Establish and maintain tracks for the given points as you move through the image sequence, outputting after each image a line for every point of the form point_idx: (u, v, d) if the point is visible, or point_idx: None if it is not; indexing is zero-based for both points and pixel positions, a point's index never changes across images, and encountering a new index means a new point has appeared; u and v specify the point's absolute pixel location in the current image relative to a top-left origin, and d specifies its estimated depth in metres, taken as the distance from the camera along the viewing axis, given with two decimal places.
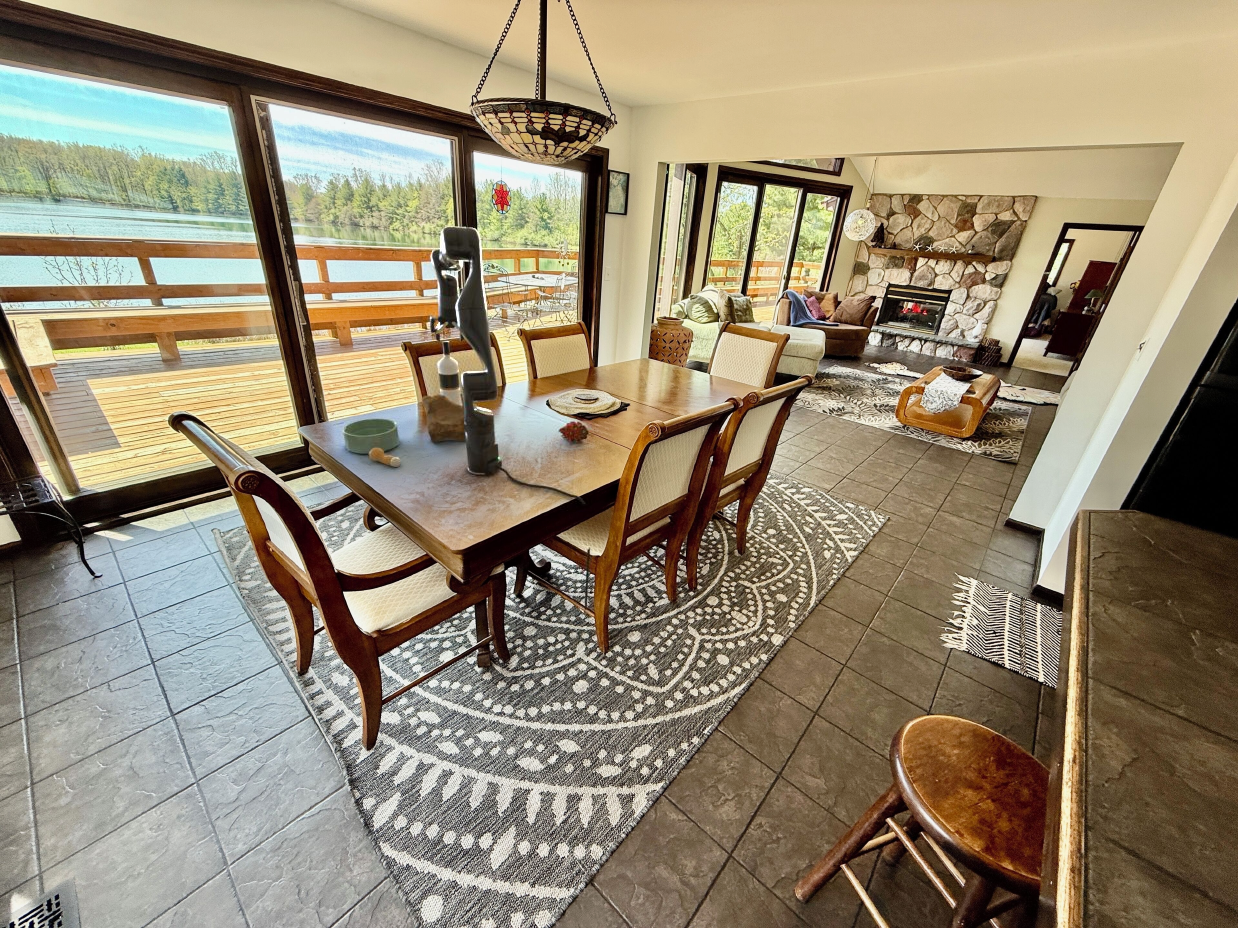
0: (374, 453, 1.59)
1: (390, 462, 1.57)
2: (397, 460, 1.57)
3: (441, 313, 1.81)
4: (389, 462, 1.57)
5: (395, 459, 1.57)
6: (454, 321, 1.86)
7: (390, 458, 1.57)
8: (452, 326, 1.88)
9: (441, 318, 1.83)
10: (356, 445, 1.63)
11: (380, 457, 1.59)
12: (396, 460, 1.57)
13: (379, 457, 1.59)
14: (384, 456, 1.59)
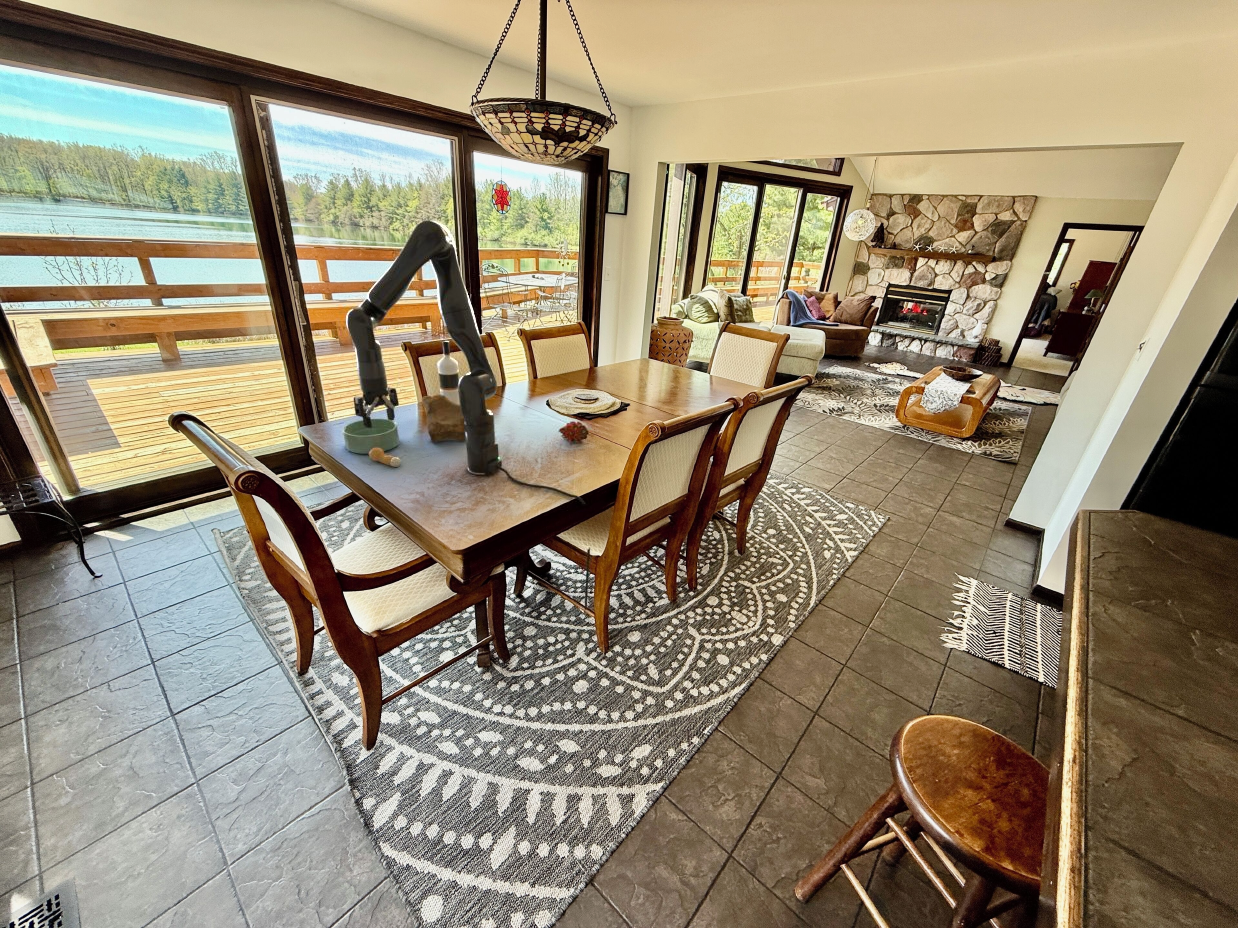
0: (374, 453, 1.59)
1: (390, 462, 1.57)
2: (397, 460, 1.57)
3: (370, 387, 1.46)
4: (389, 462, 1.57)
5: (395, 459, 1.57)
6: (383, 395, 1.51)
7: (390, 458, 1.57)
8: (381, 402, 1.52)
9: (369, 395, 1.47)
10: (356, 445, 1.63)
11: (380, 457, 1.59)
12: (396, 460, 1.57)
13: (379, 457, 1.59)
14: (384, 456, 1.59)
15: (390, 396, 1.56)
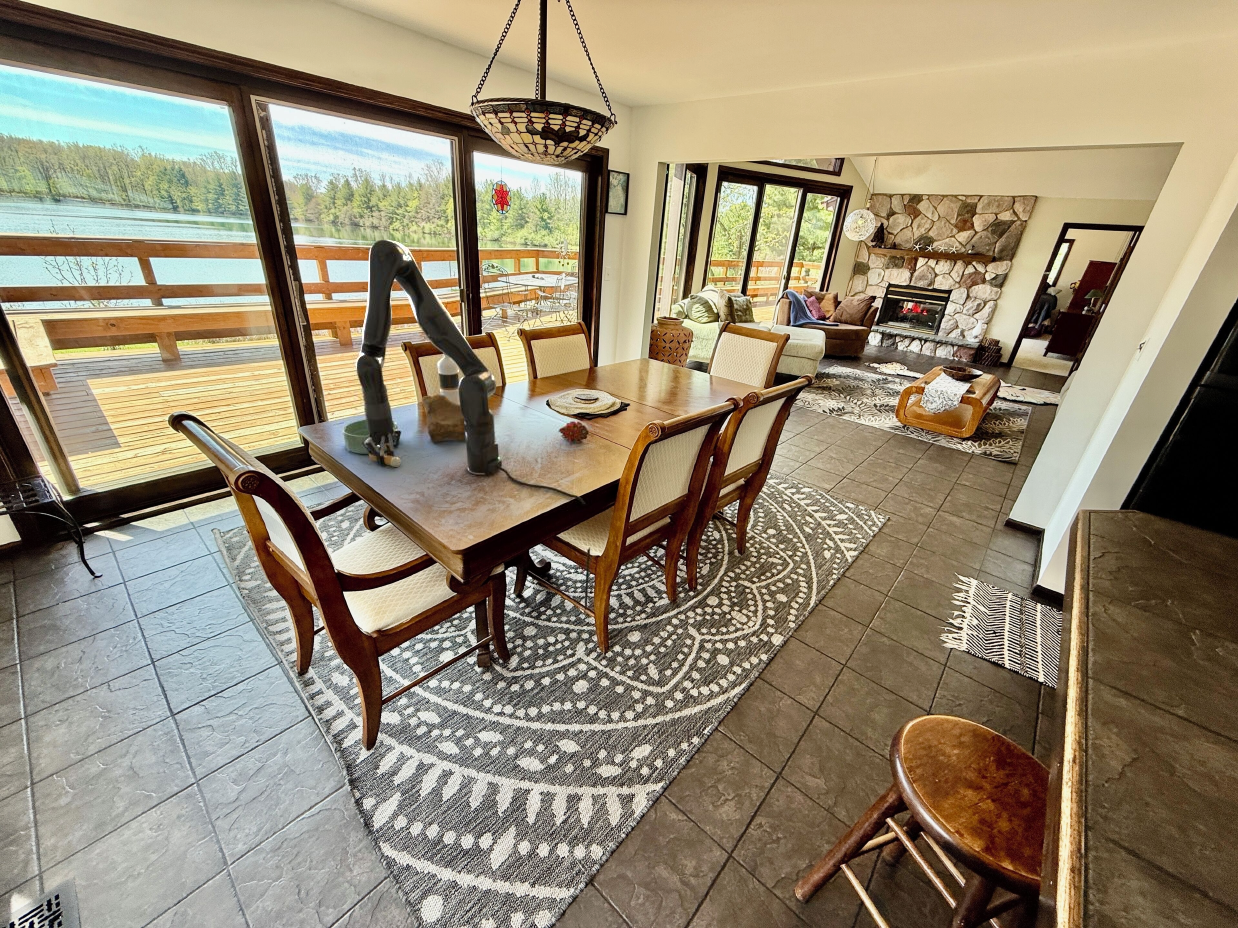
0: None
1: (390, 462, 1.57)
2: (397, 460, 1.57)
3: (377, 427, 1.51)
4: (389, 462, 1.57)
5: (395, 459, 1.57)
6: (389, 434, 1.57)
7: (390, 458, 1.57)
8: (385, 440, 1.56)
9: (375, 434, 1.53)
10: (356, 445, 1.63)
11: None
12: (396, 460, 1.57)
13: None
14: (384, 456, 1.59)
15: (393, 437, 1.61)
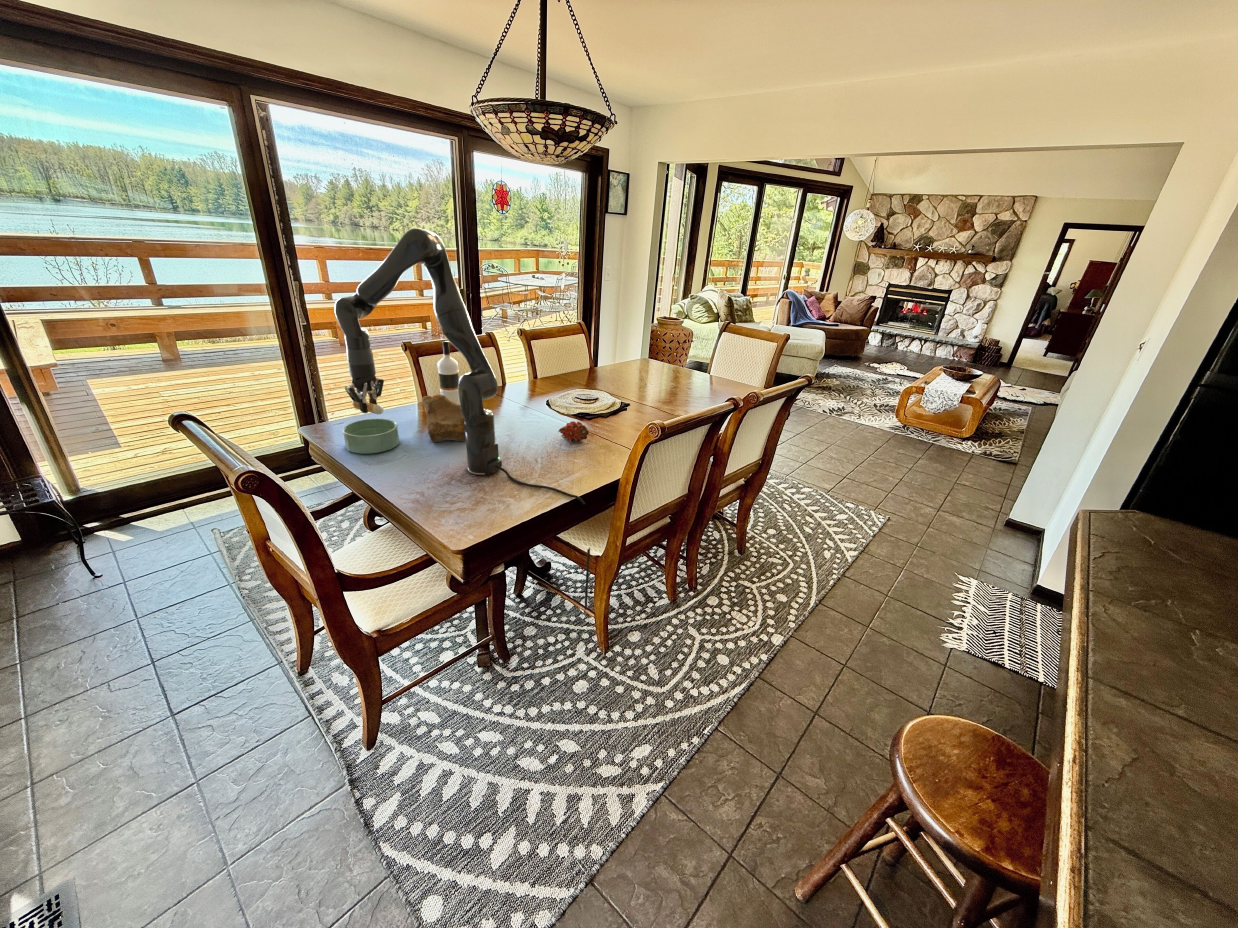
0: None
1: (372, 409, 1.60)
2: (379, 407, 1.60)
3: (359, 373, 1.54)
4: (371, 409, 1.60)
5: (377, 406, 1.60)
6: None
7: (373, 405, 1.60)
8: (367, 388, 1.59)
9: (358, 380, 1.55)
10: (356, 445, 1.63)
11: None
12: (378, 407, 1.60)
13: None
14: (367, 404, 1.61)
15: (376, 386, 1.64)
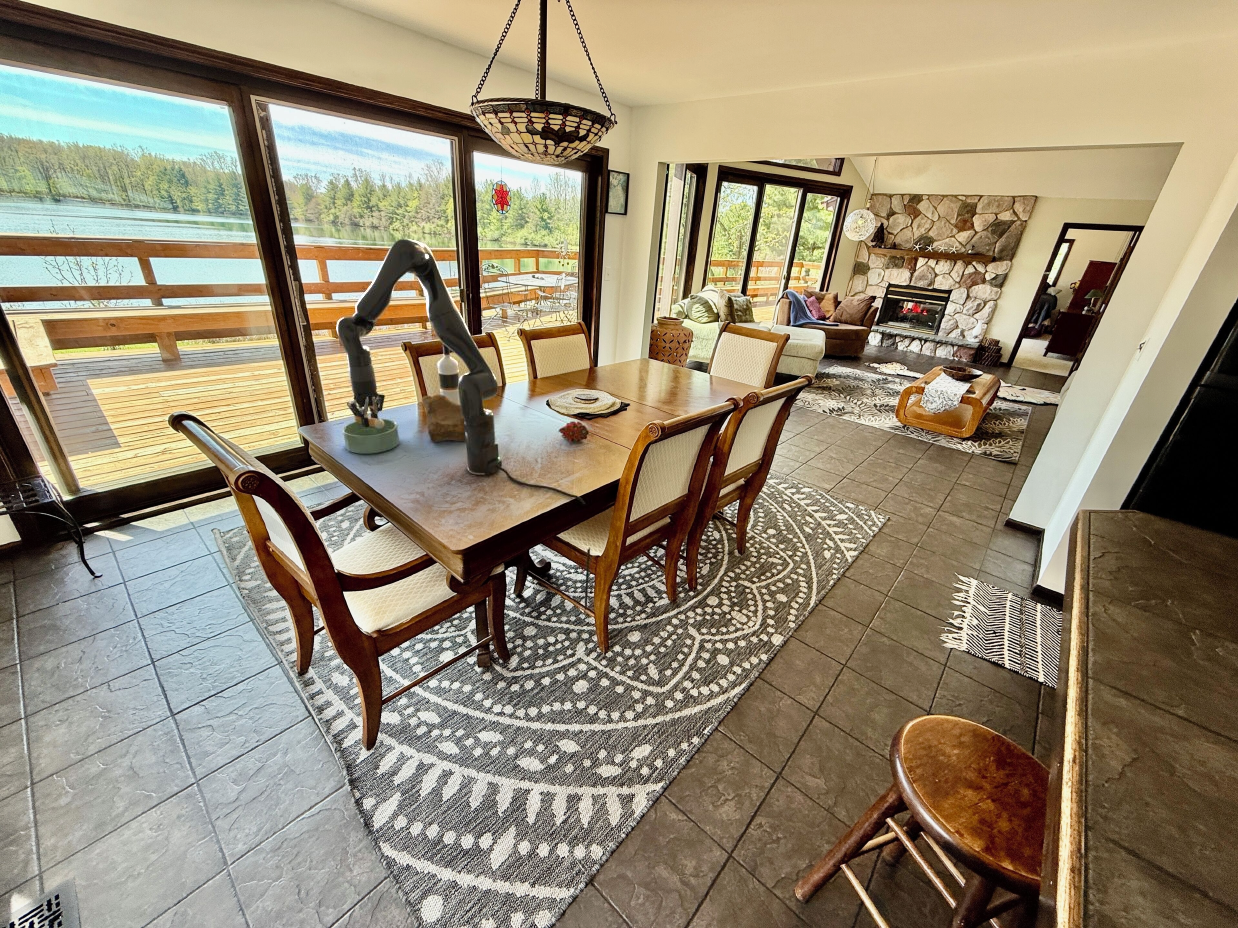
0: None
1: (374, 424, 1.65)
2: (380, 422, 1.65)
3: (360, 389, 1.59)
4: (373, 424, 1.65)
5: (378, 421, 1.65)
6: (373, 397, 1.65)
7: (374, 420, 1.66)
8: (369, 403, 1.65)
9: (360, 396, 1.61)
10: (356, 445, 1.63)
11: None
12: (379, 421, 1.65)
13: None
14: (368, 418, 1.67)
15: (377, 401, 1.69)
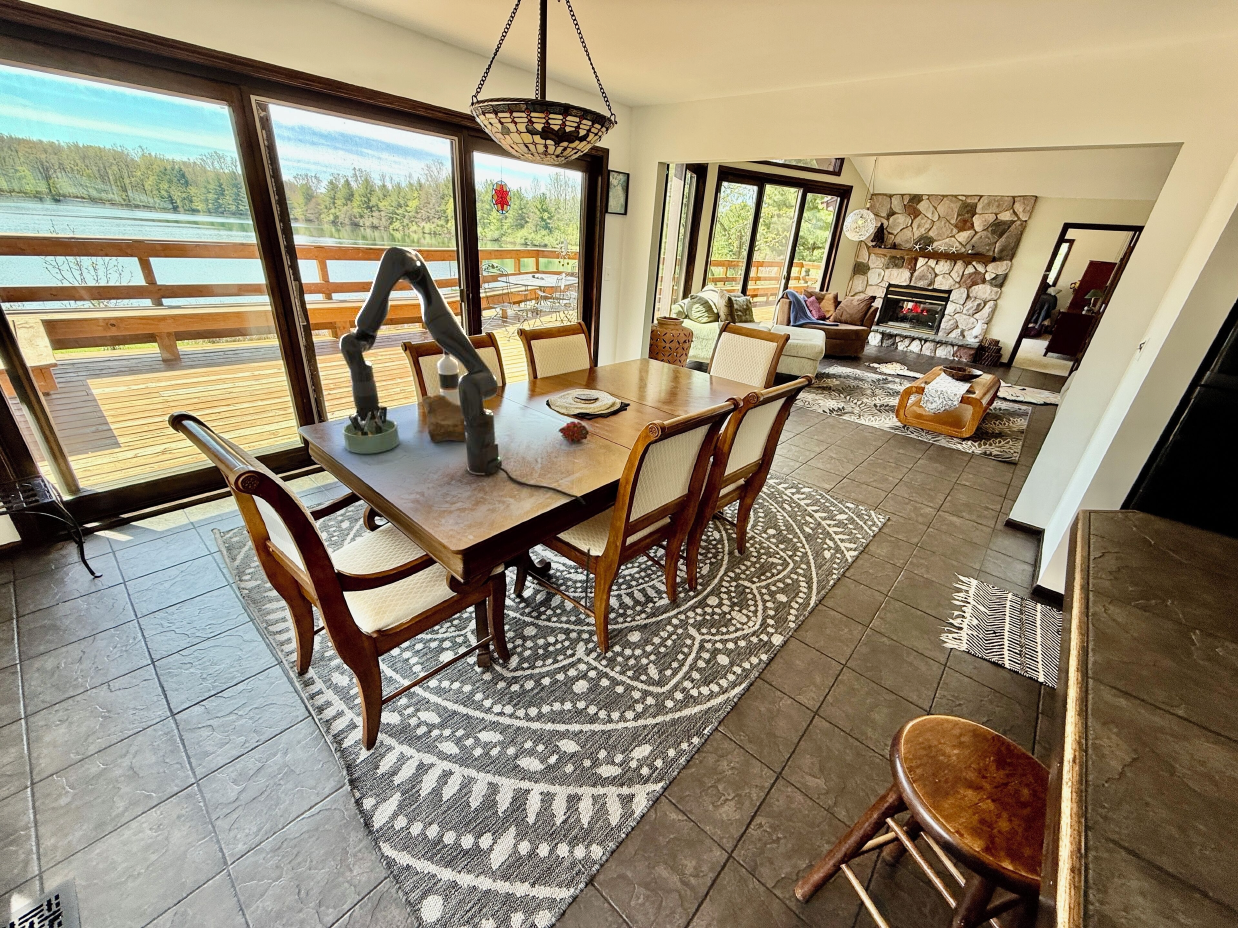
0: None
1: None
2: None
3: (363, 403, 1.61)
4: None
5: None
6: (375, 410, 1.67)
7: None
8: (372, 417, 1.67)
9: (362, 411, 1.63)
10: (356, 445, 1.63)
11: None
12: None
13: None
14: None
15: (380, 413, 1.72)
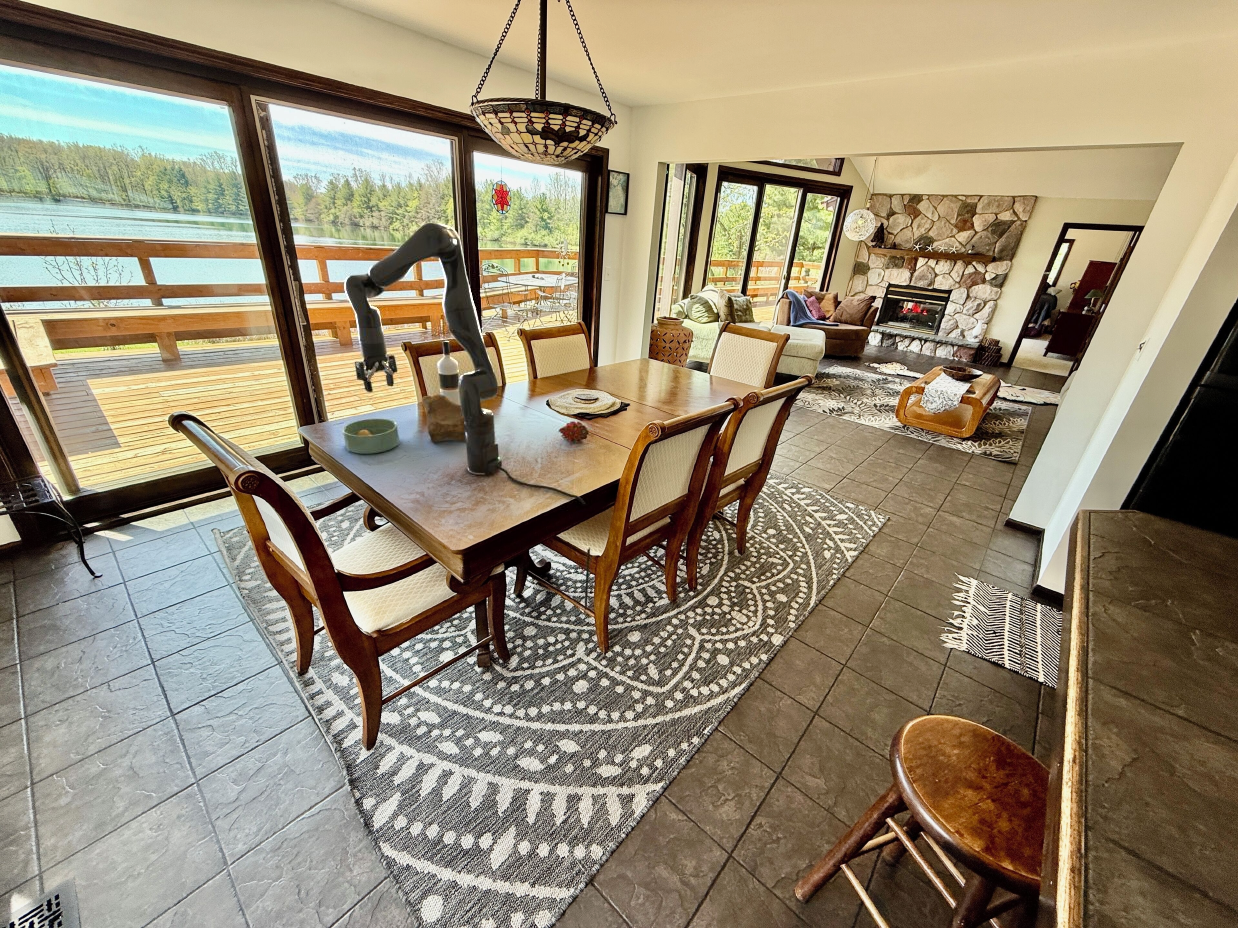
0: (361, 434, 1.70)
1: None
2: None
3: (370, 352, 1.54)
4: None
5: None
6: (383, 360, 1.60)
7: None
8: (381, 368, 1.60)
9: (369, 360, 1.55)
10: (356, 445, 1.63)
11: None
12: None
13: None
14: None
15: (389, 363, 1.65)
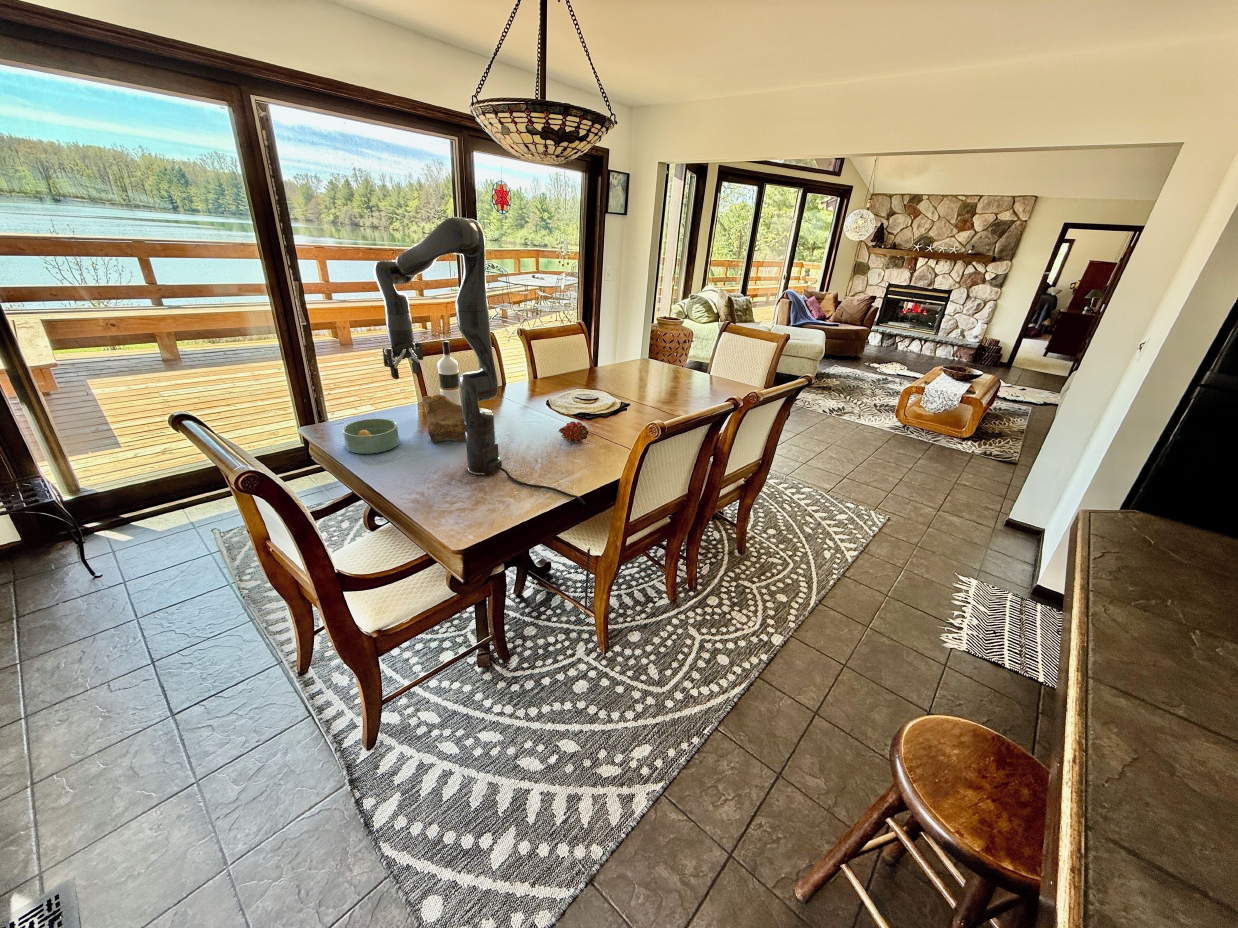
0: (361, 434, 1.70)
1: None
2: None
3: (398, 338, 1.53)
4: None
5: None
6: (409, 348, 1.59)
7: None
8: (408, 355, 1.60)
9: (397, 346, 1.55)
10: (356, 445, 1.63)
11: None
12: None
13: None
14: None
15: (415, 350, 1.64)
